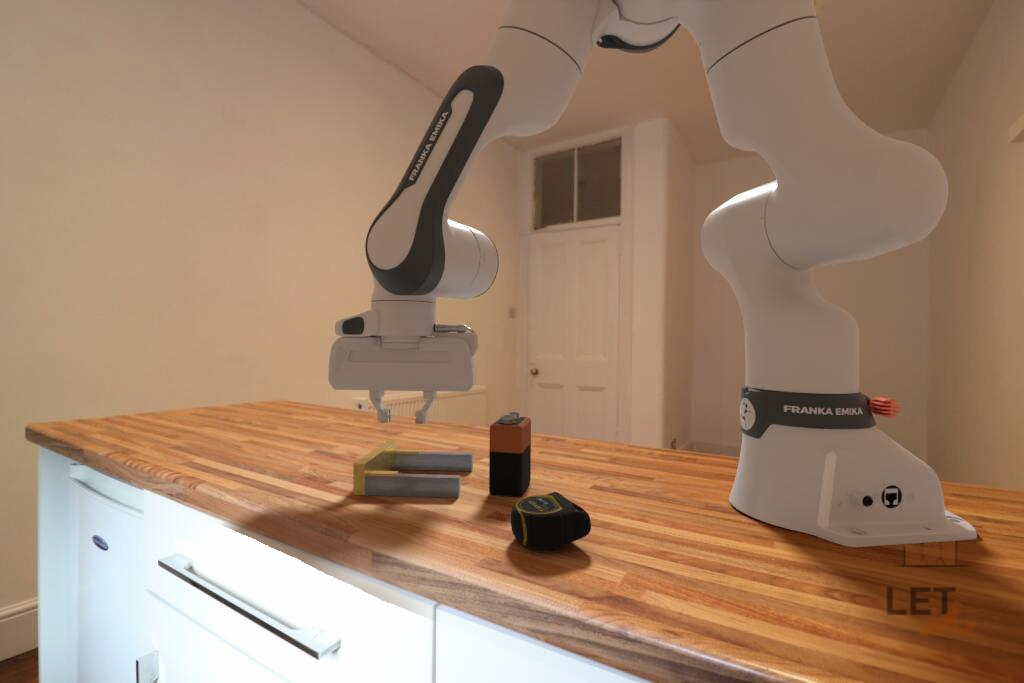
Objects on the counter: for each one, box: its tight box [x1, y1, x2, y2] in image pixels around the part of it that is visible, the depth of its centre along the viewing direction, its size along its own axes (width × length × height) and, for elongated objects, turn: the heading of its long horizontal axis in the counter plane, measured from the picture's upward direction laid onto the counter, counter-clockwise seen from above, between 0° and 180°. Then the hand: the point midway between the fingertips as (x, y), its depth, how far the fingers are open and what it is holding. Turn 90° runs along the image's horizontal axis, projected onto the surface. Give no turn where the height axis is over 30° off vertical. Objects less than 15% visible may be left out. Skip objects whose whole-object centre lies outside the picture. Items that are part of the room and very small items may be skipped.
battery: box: [488, 411, 532, 498], centre depth 60 cm, size 4×7×10 cm, turn 167°
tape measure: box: [510, 491, 592, 550], centre depth 44 cm, size 7×7×4 cm
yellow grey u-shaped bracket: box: [352, 440, 474, 499], centre depth 63 cm, size 14×12×4 cm
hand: (403, 422), depth 63 cm, fingers open, 4 cm apart
